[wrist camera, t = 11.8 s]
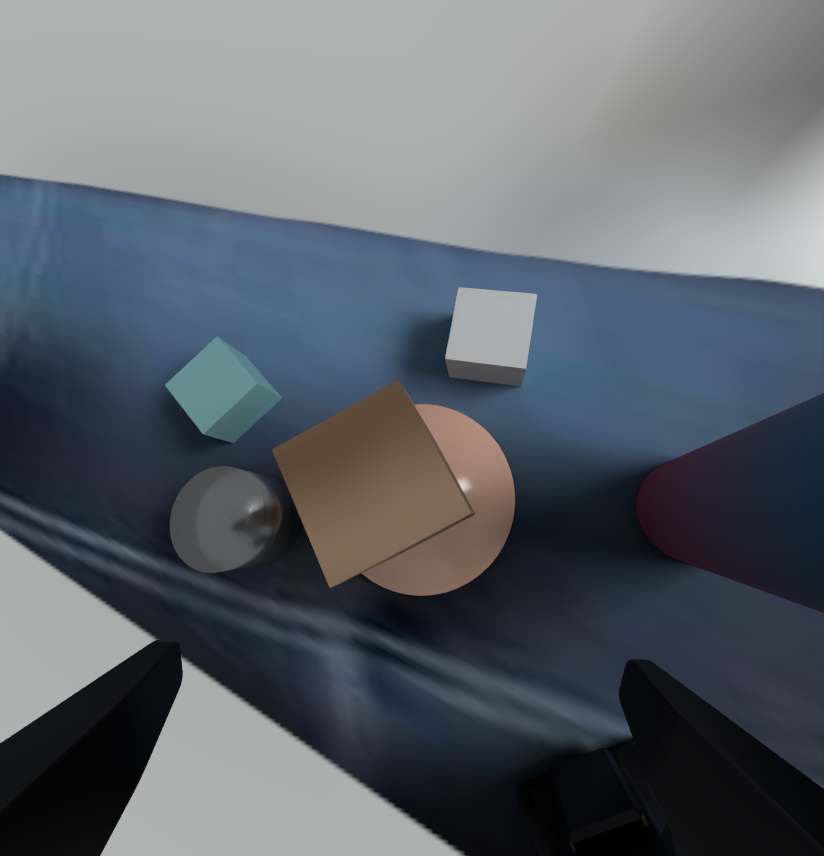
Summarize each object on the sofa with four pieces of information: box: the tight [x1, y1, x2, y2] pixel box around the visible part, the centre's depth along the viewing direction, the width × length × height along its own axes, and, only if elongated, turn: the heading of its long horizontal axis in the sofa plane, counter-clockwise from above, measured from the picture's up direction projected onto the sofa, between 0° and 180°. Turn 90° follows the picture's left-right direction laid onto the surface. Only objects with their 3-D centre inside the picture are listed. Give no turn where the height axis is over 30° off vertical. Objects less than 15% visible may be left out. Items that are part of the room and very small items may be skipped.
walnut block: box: [272, 380, 475, 588], centre depth 17 cm, size 4×4×10 cm
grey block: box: [445, 287, 537, 387], centre depth 22 cm, size 4×4×3 cm
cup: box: [637, 393, 824, 613], centre depth 13 cm, size 7×7×15 cm
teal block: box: [165, 337, 282, 443], centre depth 24 cm, size 4×4×3 cm
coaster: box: [361, 404, 515, 596], centre depth 22 cm, size 10×10×1 cm
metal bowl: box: [170, 466, 301, 573], centre depth 21 cm, size 5×5×4 cm
